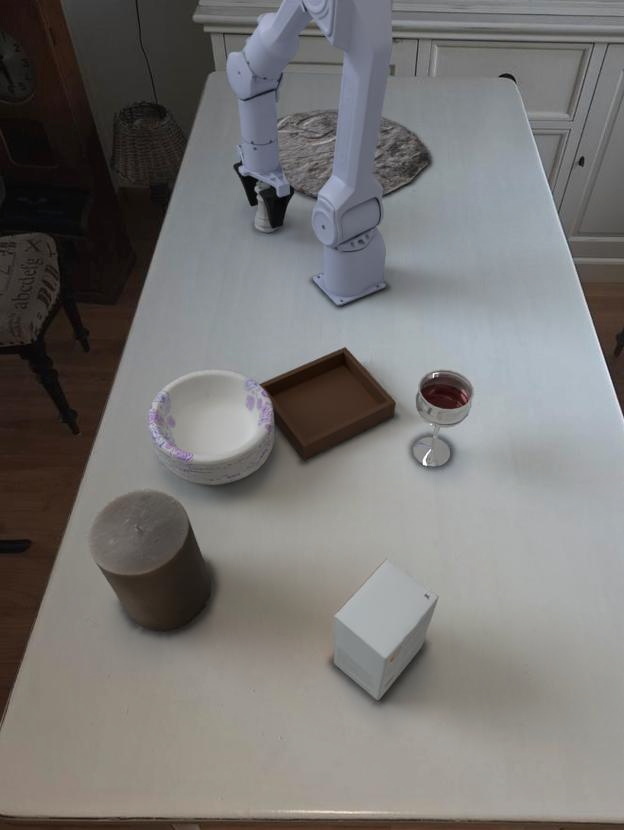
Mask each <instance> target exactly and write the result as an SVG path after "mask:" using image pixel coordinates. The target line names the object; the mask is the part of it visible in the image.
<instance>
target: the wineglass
mask: <svg viewBox="0 0 624 830" xmlns="http://www.w3.org/2000/svg"><path fill="white" fill-rule="evenodd" d="M417 385H418V386H417V387H418V388H417V392H416V395H415V408H416V410H417V413H418V415H419V417H420V418H421V419H422V421H423V422H425V423H427V424H428V425H430V426H433V427H434V429H433V434H432V437H431V436H428V437H422V438H421V439H418V440H417V441H416V442H415V444H414V445H413V448H412V449H413V450H412V451H413V455H414V458H415V459H416V460H417V461H418V462H419V463H420V464H422V465H424V466H426V467H441V466H442V465H444V464H446V463H447V462H448V461H449V460H450V457H451V450H450V447H449V445H447V443H446V442H445V441H443V439H440V438H438V436H439V433H440V430H441V429H447V428H449V429H450V428H454V427H455V426H457V425H460V424H461V423H462V422H464V420H465V419H466V418H467V417H468V416H469V414H470V411H471V408H472V401H473V398H474V396H475V390H474V386H473V384H472V382H471V381H470V380H469V379H468V378H467V377H466V376H465V375H463V374H461V373H460V372H458V371H454V370H451V369H435V370H431V371H429V372H427V373H425V375H423V376H422V377H421V378H420V379H419V382H418V384H417Z"/></svg>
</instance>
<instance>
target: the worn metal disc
mask: <svg viewBox="0 0 624 830" xmlns="http://www.w3.org/2000/svg"><path fill="white" fill-rule="evenodd" d="M338 112H339V109H326V110H325V109H323V110H317V109H316V110H313V111H308V112H300V113H294V114H290V115H288V116H285V117H282V118H279V119H277V127H278V144H279V160H280V162H281V165H282V168H283V171H284V174H285V177H286V179H287V181H288V182H289V183H290V185H291V186H292V187H293V188H294V190H296V191H297V192H300V193H302V194H305V195H306V196H308V197H312V198H315V199H318V193H319V191H320V190H321V189H322V187H323V186H324V185H325V184H326V182H327V181H328V180H329V178H330V177H331V176H332V172H333V162H334V152H335V142H336V132H337V122H338ZM429 163H430V157H429V153H427V150H426V148H425V146H424V145H423V143H422V142H421V141H420V140H419V139H418V137H417V136H416V135H415V134H414V133H413V132H411V130H408V129H407V128H405V127H404V126H403V125H401V124H399V123H396V122H395V121H392V120H389V119H387V118H385V117H383V116H381V122H380V128H379V134H378V140H377V147H376V153H375V159H374V165H373V171H372V176H373V177H375V178H376V179H377V180H378V181H379V183H380V184H381V186H382V187H383V194H382V196H384V195H387V194H389V193H392V192H393V191H395V190H397V189H399V188H400V187H402V186H404V185H405V186H406V185H408V184H410V183H411V182H412V180H413V179H414V178H415V177H416V176H417V174H419V172H421V171H422V170H423V169H424V168H425V167H426V166H428V164H429Z"/></svg>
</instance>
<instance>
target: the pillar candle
mask: <svg viewBox="0 0 624 830" xmlns="http://www.w3.org/2000/svg"><path fill="white" fill-rule="evenodd" d="M85 537H86V539H85V540H86V543H88V545H87V546H88V549H89V553H90V555H91V557H92V559H93V561H94V563H95V564H96V566H97V567H98V569H99V570H100V571H101V573H102V574H103V576H104V577H105V579H106V581H107V583H108V584H109V585H110V587H111V589H112V590H113V592H114V593H115V595H116V597H117V599H118V601H119V602H120V603H121V605H122V606H123V608H124V609H125V611H126V613H127V614H128V615H129V616H130V618H131V620H133V621H134V623H136V624H137V625H139V626H141V627H143V628H145V629H148V630H151V631H156V632H167V631H173V630H176V629H177V630H178V629H180V628H182V627H185V626H186V625H188V624H190V623H191V622H193V621H194V620H195V619H196V618H197V617H198V616H200V615H201V613H202V612H203V610H205V608H206V606H207V603H208V599H209V598H210V596H211V589H212V585H211V584H212V582H211V578H210V574H209V571H208V569H207V565H206V563H205V560H204V557H203V554H202V552H201V548H200V546H199V543H198V540H197V538H196V537H197V536H196V535H195V531H194V529H193V526H192V524H191V521H190V518H189V515H188V513H187V510H186V509H185V507H184V506H183V505H182V503H181V502H180V501H178V500H177V498H175V497H174V496H171V495H170V494H168V493H166V492H163V491H159V490H154V489H151V488H144V489H135V490H132V491H128V493H125V494H122V495H120V496H116V497H115V498H114V499H113V500H112V501H108V502H107V503H106V505H105V506H104V507H102V509H101V510H100V511H98V512H97V513H96V516H95V517H94V519H93V520H92V522H91V524H90V526H89V530H88V532H86V536H85Z"/></svg>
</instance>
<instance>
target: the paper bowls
mask: <svg viewBox="0 0 624 830" xmlns="http://www.w3.org/2000/svg"><path fill="white" fill-rule="evenodd" d="M259 384H260V383H258V382H257V381H255V380H254V379H253V378H251V377H249V376H247V375H244V374H242V373H240V372H236V371H232V370H228V369H217V368H216V369H204V370H198V371H197V370H196V371H193V372H190V373H187V374H184V375H182V376H180V377H177V378H175V379H174V380H172V381H171V382H169V383H168V384H167V385H165V387H163V388H162V389H161V391H159V392H158V393H157V395H156V396H155V397H154V399H153V401H152V403H151V404H150V407H149V411H148V418H147V425H148V432H149V435H150V439H151V441H152V444H153V447H154V449H155V453H156V454H157V456H158V458H159V460H160V462H161V463H162V464H163V466H164V467H165V468H166V469H167V470H168V471H169V472H171V473H172V474H174V475H175V476H176V477H178V478H180V479H181V480H183V481H185V482H190V483H193V484H194V483H195V484H199V485H207V486H218V485H219V486H220V485H225V484H231V483H232V482H233V483H234V482H236V481H239V480H241V479H244V478H246V477H248V476H249V475H251V474H252V473H254V472H256V471H258V469H260V467H262V465H264V463H265V462H266V461H267V459H268V458H269V456H270V453H271V452H272V450H273V447H274V443H275V442H274V441H275V432H276V431H275V429H276V428H275V422H274V413H273V406H272V402H271V400H270V398H269V396H268V394H267V393H266V391H265V390H264V389H263V388H262V387H261V386H260V385H259Z"/></svg>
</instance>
